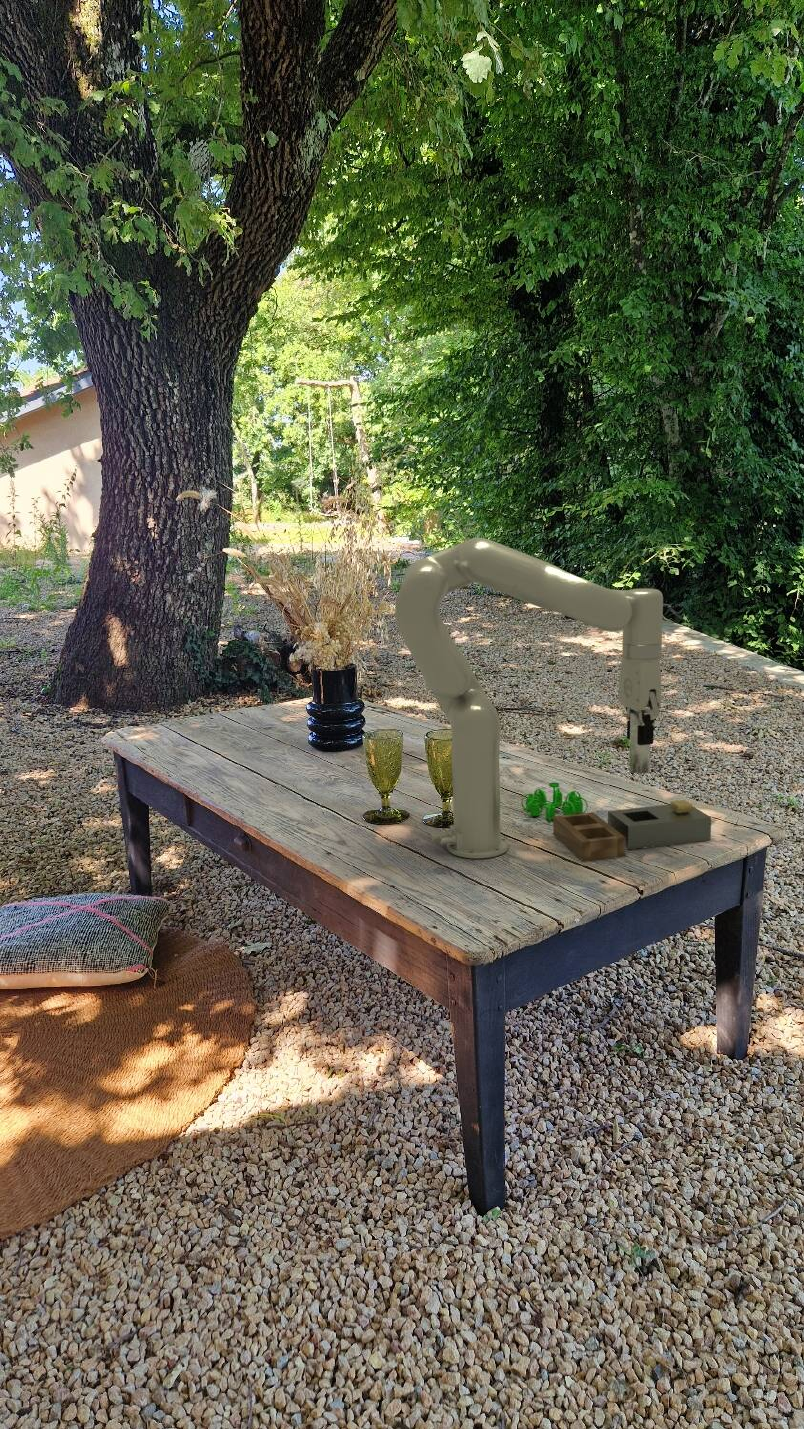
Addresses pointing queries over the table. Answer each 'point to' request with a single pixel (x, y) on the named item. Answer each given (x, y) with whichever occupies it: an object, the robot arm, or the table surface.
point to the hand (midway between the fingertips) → (639, 740)
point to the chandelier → (553, 803)
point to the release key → (681, 806)
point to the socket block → (660, 826)
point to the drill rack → (589, 836)
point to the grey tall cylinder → (638, 748)
